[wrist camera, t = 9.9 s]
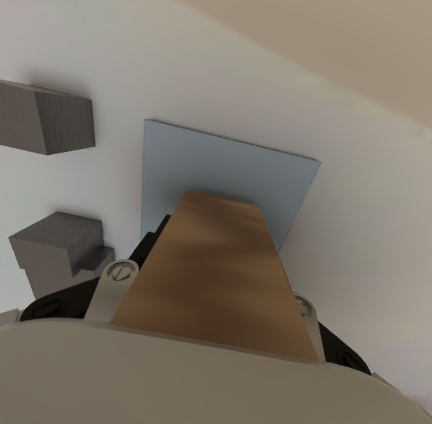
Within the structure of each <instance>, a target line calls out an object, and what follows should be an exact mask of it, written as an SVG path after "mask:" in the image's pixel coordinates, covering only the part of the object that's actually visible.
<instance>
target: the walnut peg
mask: <svg viewBox="0 0 432 424" xmlns="http://www.w3.org/2000/svg"><path fill="white" fill-rule="evenodd" d="M109 324H111V325H117V326H123V327H128V328H134V329H140V330H146V331H152V332H158V333H163V334H169V335H175V336H180V337H186V338H192V339H197V340H203V341H208V342H214V343H219V344H225V345H231V346H236V347H242V348H247V349H253V350H259V351H264V352H269V353H275V354H280V355H285V356H291V357H296V358H301V359H307V360H312V361H317V362H319V359H318V357H317V354H316V352H315V349H314V346H313V344H312V341H311V339H310V336H309V334H308V331H307V328H306V326H305V323H304V321H303V318H302V316H301V313H300V310H299V308H298V305H297V303H296V300H295V298H294V295H293V293H292V290H291V287H290V285H289V282H288V280H287V277H286V275H285V272H284V269H283V267H282V264H281V262H280V259H279V257H278V254H277V251H276V249H275V246H274V244H273V241H272V239H271V236H270V234H269V231H268V228H267V226H266V223H265V221H264V218H263V216H262V213H261V210H260V208H259V206H257V205H252V204H248V203H243V202H239V201H234V200H230V199H225V198H221V197H217V196H212V195H208V194H203V193H199V192H194V191H190V190H186V191H185V193H184V195H183V197H182V198H181V200H180V202H179V204H178V205H177V207H176V209H175V210H174V212H173V214H172V216H171V217H170V219H169V221H168V222H167V224H166V226H165V228H164V229H163V231H162V233H161V234H160V236H159V238H158V240H157V241H156V243H155V245H154V247H153V248H152V250H151V252H150V253H149V255H148V257H147V259H146V260H145V262H144V264H143V265H142V267H141V269H140V271H139V272H138V274H137V276H136V278H135V279H134V281H133V283H132V284H131V286H130V288H129V290H128V291H127V293H126V295H125V296H124V298H123V300H122V302H121V303H120V305H119V307H118V309H117V310H116V312H115V314H114V315H113V317H112V319H111V321H110V322H109Z"/></svg>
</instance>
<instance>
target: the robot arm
mask: <svg viewBox="0 0 432 424" xmlns="http://www.w3.org/2000/svg"><path fill="white" fill-rule="evenodd" d="M171 216H172V215H168V214H166V216H165V217H164V219H163V221H162V222H161V224H160V225H159V227H158V228H157V230H156V231H155V233H154V232H147V234H146V235H145V236H144V238H143V239H142V241H141V242H140V243H139V245H138V246H137V248H136V249H135V250H134V252H133V253H132V255H131V256H130V257H129V259H121V260H117V261H114V262H112V263H110V264H109V265H107V266H106V267H105V269H104V270H103V273H102V275H101V276H100V277H97V278H94V279H91V280H88V281H85V282H83V283H80V284H77V285H74V286H71V287H68V288H66V289H63V290H60V291H57V292H54V293H51V294H48V295H46V296H43V297H41V298H39V299H37V300H36V301H34V302H33V303H31V304H30V305H29V306H28V307H27V308H26V309H24V310H21V311H18V308H17V309H14V310H10V311H7V312H4V313H0V424H432V416H431V415H430V414H428V413H427V412H426V411H424V410H423V409H422V408H420V407H419V406H418V405H417V404H415V403H414V402H413V401H412V400H410V399H409V398H408V397H406V396H405V395H403V394H402V393H401V392H400V391H398V390H397V389H396V388H394V387H393V386H392V385H390V384H389V383H388V382H387V381H385V380H384V379H383V378H381V377H380V376H379V375H377V374H376V373H375V372H374V373H373V374H371V372H370V370H369V368H368V366H367V365H366V363H365V362H364V361H363V359H362V358H361V357H360V356H359V355H358V354H357V353H356V352H354V351H353V350H352V349H351V348H350V347H349V346H347V345H346V344H345V343H344V342H343V341H341V340H340V339H339V338H338V337H337V336H335V335H334V334H333V333H332V332H331V331H329V330H328V329H327V328H326V327H325V326H323V325H322V324H321V323H320V322H319V321H318V320H317V315H316V311H315V308H314V306H313V305H312V303H311V302H310V301H309V300H308V299H306V298H305V297H304V296H302V295H300V294H298V293H293V292H292V293H293V295H294V298H295V300H296V303H297V305H298V308H299V310H300V313H301V316H302V318H303V321H304V323H305V326H306V328H307V331H308V334H309V336H310V339H311V341H312V344H313V346H314V349H315V352H316V354H317V357H318V359H319V362H317V361H312V360H307V359H301V358H296V357H291V356H285V355H280V354H275V353H269V352H264V351H259V350H253V349H247V348H242V347H236V346H231V345H225V344H219V343H214V342H208V341H203V340H197V339H192V338H186V337H180V336H175V335H169V334H163V333H158V332H152V331H146V330H140V329H134V328H128V327H123V326H117V325H111V324H109V322H110V321H111V319H112V317H113V315H114V314H115V312H116V310H117V309H118V307H119V305H120V303H121V302H122V300H123V298H124V296H125V295H126V293H127V291H128V290H129V288H130V286H131V284H132V283H133V281H134V279H135V278H136V276H137V274H138V272H139V271H140V269H141V267H142V265H143V264H144V262H145V260H146V259H147V257H148V255H149V253H150V252H151V250H152V248H153V247H154V245H155V243H156V241H157V240H158V238H159V236H160V234H161V233H162V231H163V229H164V228H165V226H166V224H167V222H168V221H169V219H170V217H171ZM280 262H281V261H280ZM282 267H283V266H282ZM284 272H285V271H284ZM285 275H286V274H285ZM287 280H288V279H287ZM289 285H290V284H289ZM291 290H292V289H291Z"/></svg>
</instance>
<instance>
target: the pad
mask: <svg viewBox="0 0 432 424" xmlns="http://www.w3.org/2000/svg"><path fill="white" fill-rule="evenodd" d="M320 164H321V162H319V161H317V160H314V159H310V158H306V157H302V156H298V155H294V154H290V153H285V152H281V151H277V150H273V149H269V148H265V147H261V146H257V145H253V144H249V143H244V142H240V141H236V140H232V139H228V138H224V137H220V136H216V135H212V134H208V133H203V132H199V131H195V130H191V129H187V128H183V127H179V126H175V125H171V124H166V123H162V122H158V121H154V120H148V119H144V148H143V179H142V210H141V241H142V239H143V238H144V236H145V235H146V234H147V232H154V233H155V231H156V230H157V228H158V227H159V225H160V224H161V222H162V221H163V219H164V217H165V216H166V214H168V215H172V214H173V212H174V210H175V209H176V207H177V205H178V204H179V202H180V200H181V198H182V197H183V195H184V193H185V191H186V190H190V191H194V192H199V193H203V194H208V195H212V196H217V197H221V198H225V199H230V200H234V201H239V202H243V203H248V204H252V205H257V206H259V208H260V210H261V213H262V216H263V218H264V221H265V223H266V226H267V228H268V231H269V234H270V236H271V239H272V241H273V244H274V246H275V249H276V251H277V253H278V251H279V249H280V247H281V245H282V243H283V241H284V238H285V236H286V234H287V232H288V230H289V228H290V226H291V224H292V222H293V220H294V218H295V216H296V214H297V212H298V210H299V208H300V206H301V203H302V201H303V199H304V197H305V195H306V193H307V191H308V189H309V187H310V185H311V183H312V181H313V179H314V177H315V175H316V173H317V170H318V168H319V166H320ZM141 241H140V242H141Z"/></svg>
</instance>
